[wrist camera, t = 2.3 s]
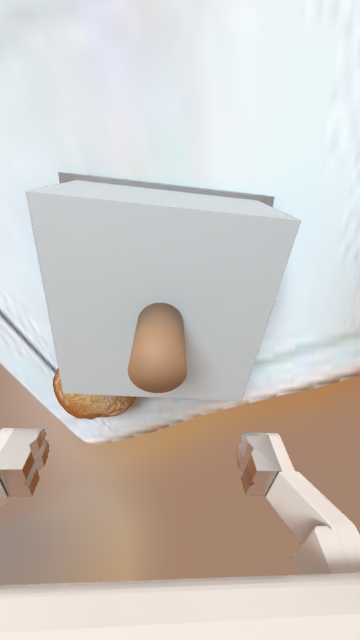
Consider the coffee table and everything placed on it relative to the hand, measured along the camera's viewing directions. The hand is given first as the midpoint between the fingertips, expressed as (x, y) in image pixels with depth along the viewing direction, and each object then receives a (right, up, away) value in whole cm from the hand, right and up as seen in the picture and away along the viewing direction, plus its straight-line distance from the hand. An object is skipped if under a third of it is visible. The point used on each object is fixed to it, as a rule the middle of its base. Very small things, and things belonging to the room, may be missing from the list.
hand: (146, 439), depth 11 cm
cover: (0, +9, +15) cm, 18 cm away
